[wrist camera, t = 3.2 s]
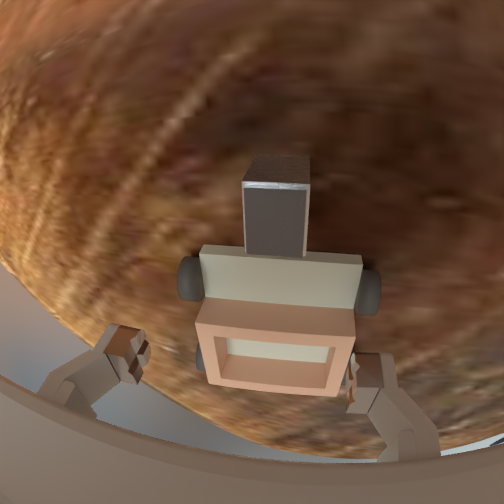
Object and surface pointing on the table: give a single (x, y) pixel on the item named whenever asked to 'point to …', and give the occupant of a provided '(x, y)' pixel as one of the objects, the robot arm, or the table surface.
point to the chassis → (277, 317)
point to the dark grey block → (276, 205)
